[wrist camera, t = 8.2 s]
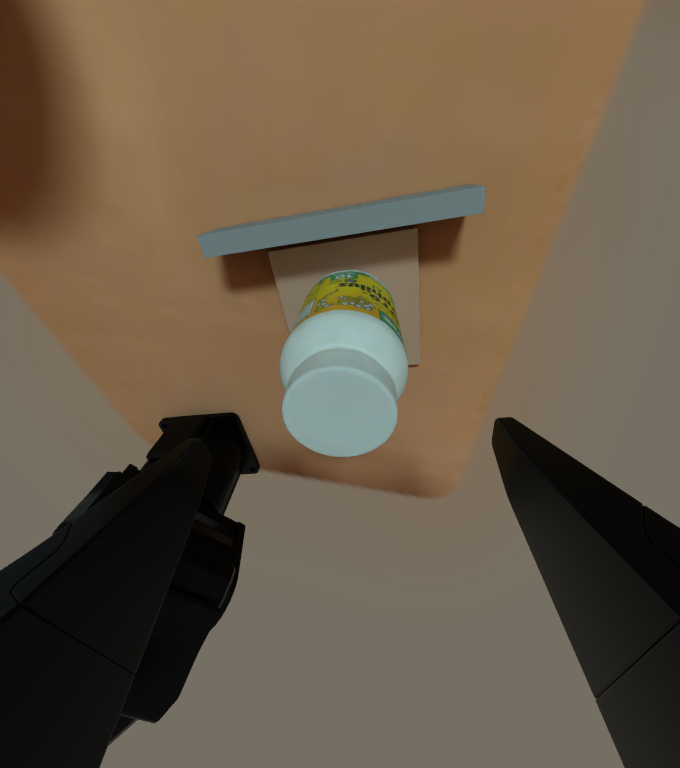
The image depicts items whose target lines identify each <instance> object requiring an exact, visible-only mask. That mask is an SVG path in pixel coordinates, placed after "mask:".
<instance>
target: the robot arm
mask: <svg viewBox="0 0 680 768" xmlns="http://www.w3.org/2000/svg"><path fill="white" fill-rule="evenodd" d="M230 418H231V419H233V420H231V419H230ZM166 424H167V425H166ZM159 427H160V428H161V430H162V432H163V434H162V436H161V437H160V438H159V440H158V441H157V442H156V443H155V445H154V446H153V447H152V448H151V450H150V451H149V453H148V454H147V456H146V458H147V459H148V461H147V462H146V463H145V465H144V466H143V467H142V468H141V470H138V469H137V467H135V466H134V465H132V464H129V466H128V467H127V468H126V469H125V470H124V471H123V473H122V472H107V473H106V474H105V475H104V476H103V478H102V479H101V480H100V481H99V482H98V483H97V484H96V486H95V487H94V488H93V489H92V490H91V491H90V492H89V494H88V495H87V496H86V497H85V498H84V499H83V500H82V501H81V502H80V503H79V504H78V506H77V507H76V508H75V509H74V510H73V511H72V512H71V513H70V514H69V515H68V516H67V517H66V518H65V520H64V521H63V522H62V523H61V524H60V525H59V526H58V527H57V529H56V530H55V531H54V532H53V535H52V536H51V537H49V538H48V539H47V540H45V541H44V542H42V543H41V544H40V545H38V546H37V547H35V548H34V549H32V550H31V551H29V552H28V553H26V554H25V555H23V556H22V557H20V558H19V559H17V560H16V561H14V562H12V563H11V564H9V565H8V566H7V567H5V568H3V569H2V570H0V768H100V765H101V762H102V760H103V757H104V755H105V752H106V749H107V747H108V745H110V744H111V743H112V742H113V741H114V740H115V739H116V738H118V737H119V736H120V735H121V734H122V733H123V732H124V731H125V730H127V729H128V728H129V727H130V726H131V725H132V724H133V723H134V722H135V721H137V720H138V719H139V720H142V721H147V722H151V723H156V722H157V721H159V720H160V718H161V717H162V716H163V715H164V714H165V713H166V712H167V711H168V709H169V708H170V707H171V706H172V704H174V702H175V701H176V700H177V699H178V697H179V695H180V693H181V691H182V689H183V686H184V684H185V682H186V679H187V677H188V674H189V672H190V670H191V668H192V665H193V663H194V661H195V659H196V656H197V654H198V652H199V650H200V648H201V646H202V644H203V642H204V641H205V639H206V637H207V635H208V633H209V631H210V630H211V629H212V628H213V627H214V626H215V625H216V624H217V622H218V621H219V620H220V618H221V617H222V615H223V613H224V612H225V610H226V608H227V606H228V604H229V602H230V600H231V597H232V595H233V593H234V590H235V587H236V584H237V579H238V573H239V567H240V560H241V553H242V546H243V539H244V532H245V525H244V524H242V523H240V522H235V521H233V520H232V519H230V518H228V517H226V516H224V513H225V510H226V508H227V506H228V503H229V501H230V498H231V496H232V493H233V491H234V489H235V486H236V484H237V482H238V479H239V477H240V474H254V473H257V472H258V470H259V468H260V466H259V464H258V461H257V459H256V457H255V454H254V452H253V450H252V447H251V445H250V443H249V441H248V438H247V436H246V434H245V431H244V429H243V427H242V424H241V422H240V420H239V417H238V416H237V415H236V414H235V413H218V414H206V415H205V414H203V415H192V416H180V417H171V418H163V419H162V420H161V421H160V422H159ZM492 446H493V450H494V453H495V457H496V460H497V463H498V467H499V470H500V473H501V477H502V480H503V483H504V487H505V489H506V493H507V496H508V499H509V501H510V503H511V506H512V508H513V511H514V513H515V515H516V518H517V520H518V522H519V525H520V527H521V528H522V531H523V533H524V536H525V538H526V541H527V543H528V545H529V548H530V550H531V552H532V555H533V557H534V559H535V561H536V563H537V566H538V568H539V571H540V573H541V575H542V577H543V580H544V582H545V585H546V587H547V589H548V591H549V594H550V596H551V598H552V601H553V603H554V605H555V607H556V610H557V612H558V614H559V617H560V619H561V621H562V624H563V626H564V628H565V631H566V633H567V635H568V638H569V640H570V642H571V644H572V647H573V649H574V651H575V654H576V656H577V658H578V661H579V663H580V665H581V668H582V670H583V672H584V674H585V676H586V679H587V681H588V684H589V686H590V688H591V690H592V693H593V695H594V697H595V698H597V699H596V703H597V705H598V707H599V710H600V712H601V714H602V716H603V719H604V721H605V723H606V725H607V728H608V730H609V732H610V735H611V737H612V740H613V742H614V744H615V746H616V749H617V751H618V753H619V756H620V758H621V760H622V763H623V765H624V767H625V768H680V528H679V527H677V526H676V525H674V524H672V523H671V522H670V521H668V520H666V519H665V518H663V517H662V516H660V515H659V514H657V513H656V512H654V511H653V510H651V509H650V508H648V507H647V506H643V505H642V503H641V502H639V501H638V500H636V499H634V498H633V497H632V496H630V495H628V494H627V493H625V492H624V491H622V490H621V489H619V488H618V487H616V486H615V485H613V484H612V483H610V482H609V481H607V480H606V479H604V478H603V477H601V476H600V475H598V474H597V473H595V472H594V471H592V470H591V469H589V468H588V467H586V466H585V465H583V464H582V463H580V462H579V461H577V460H576V459H574V458H573V457H571V456H570V455H568V454H567V453H565V452H564V451H562V450H561V449H559V448H558V447H556V446H555V445H553V444H552V443H550V442H549V441H547V440H546V439H544V438H542V437H541V436H540V435H538V434H537V433H535V432H534V431H532V430H531V429H529V428H528V427H526V426H525V425H523V424H522V423H520V422H518V421H517V420H515V419H514V418H512V417H505V418H497V419H496V420H495V423H494V429H493V435H492Z"/></svg>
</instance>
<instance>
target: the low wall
mask: <svg viewBox="0 0 680 768" xmlns="http://www.w3.org/2000/svg"><path fill="white" fill-rule="evenodd" d="M485 192H486V186H483V185H471V184H468V185H463V186H457V187H451V188H446V189H440V190H434V191H429V192H423V193H417V194H411V195H406V196H400V197H394V198H389V199H383V200H377V201H371V202H366V203H360V204H354V205H349V206H343V207H337V208H332V209H326V210H320V211H314V212H309V213H303V214H297V215H292V216H286V217H280V218H274V219H269V220H263V221H257V222H252V223H246V224H240V225H235V226H229V227H223V228H218V229H215V230H212V231H209V232H206V233H204V234H201V235H198V236H197V238H198V240H199V243H200V246H201V248H202V251H203V254H204V256H205V258H208V257H214V256H221V255H227V254H233V253H239V252H245V251H252V250H258V249H264V248H270V247H276V246H282V245H289V244H295V243H301V242H307V241H313V240H320V239H326V238H332V237H338V236H344V235H350V234H357V233H363V232H369V231H375V230H381V229H388V228H394V227H400V226H406V225H412V224H418V223H425V222H431V221H437V220H443V219H449V218H456V217H462V216H468V215H474V214H480V213H484V203H485Z"/></svg>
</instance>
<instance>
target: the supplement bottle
mask: <svg viewBox="0 0 680 768" xmlns="http://www.w3.org/2000/svg"><path fill="white" fill-rule="evenodd" d="M280 376H281V380H282V384H283V386H284V389H285V391H286V392H285V395H284V398H283V403H282V415H283V420H284V423H285V425H286V427H287V429H288V431H289V432H290V433H291V434H292V436H293V437H294V438H295V439H296V440H297V441H298V442H300V443H301V444H302V445H304V446H305V447H307V448H309V449H311V450H313V451H315V452H317V453H320V454H324V455H328V456H334V457H351V456H358V455H362V454H365V453H368V452H370V451H372V450H374V449H376V448H378V447H379V446H381V445H382V444H383V443H384V442H385V441H386V440H387V439H388V438H389V437H390V436H391V434H392V433H393V431H394V428H395V426H396V423H397V418H398V405H397V401H398V400H399V398H400V397H401V395H402V393H403V391H404V388H405V385H406V382H407V377H408V358H407V354H406V350H405V346H404V342H403V338H402V334H401V329H400V326H399V321H398V317H397V313H396V308H395V304H394V301H393V298H392V296H391V294H390V292H389V290H388V289H387V287H386V286H385V285H384V284H383V283H382V282H381V281H380V280H378V279H377V278H376V277H374V276H372V275H370V274H368V273H366V272H363V271H358V270H344V271H337V272H333V273H330V274H328V275H326V276H324V277H323V278H321V279H320V280H319V281H318V282H317V283H316V284H315V285H314V286H313V287H312V289H311V290H310V292H309V293H308V295H307V297H306V299H305V302H304V304H303V306H302V308H301V310H300V312H299V314H298V317H297V319H296V321H295V323H294V325H293V327H292V329H291V332H290V334H289V336H288V338H287V340H286V342H285V345H284V347H283V350H282V353H281V358H280Z"/></svg>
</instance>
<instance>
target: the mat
mask: <svg viewBox="0 0 680 768" xmlns="http://www.w3.org/2000/svg"><path fill="white" fill-rule="evenodd" d="M268 255H269V259H270V263H271V267H272V270H273V274H274V278H275V282H276V285H277V289H278V293H279V297H280V300H281V304H282V308H283V312H284V315H285V319H286V323H287V327H288V330H289V334H290V332H291V329H292V327H293V325H294V323H295V321H296V319H297V317H298V314H299V312H300V310H301V308H302V306H303V304H304V302H305V299H306V297H307V295H308V293H309V292H310V290H311V289H312V287H313V286H314V285H315V284H316V283H317V282H318V281H319V280H320V279H321V278H323V277H324V276H326V275H328V274H330V273H333V272H337V271H344V270H358V271H363V272H366V273H368V274H370V275H372V276H374V277H376V278H377V279H378V280H380V281H381V282H382V283H383V284H384V285H385V286H386V287H387V289H388V290H389V292H390V294H391V296H392V298H393V301H394V304H395V308H396V313H397V317H398V321H399V326H400V329H401V334H402V338H403V342H404V346H405V350H406V354H407V358H408V365H416V364H420V321H419V263H418V228H417V227H415V228H409V229H402V230H396V231H390V232H384V233H377V234H371V235H365V236H359V237H352V238H346V239H340V240H334V241H328V242H321V243H315V244H309V245H303V246H296V247H290V248H284V249H278V250H271V251H269V252H268Z"/></svg>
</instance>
